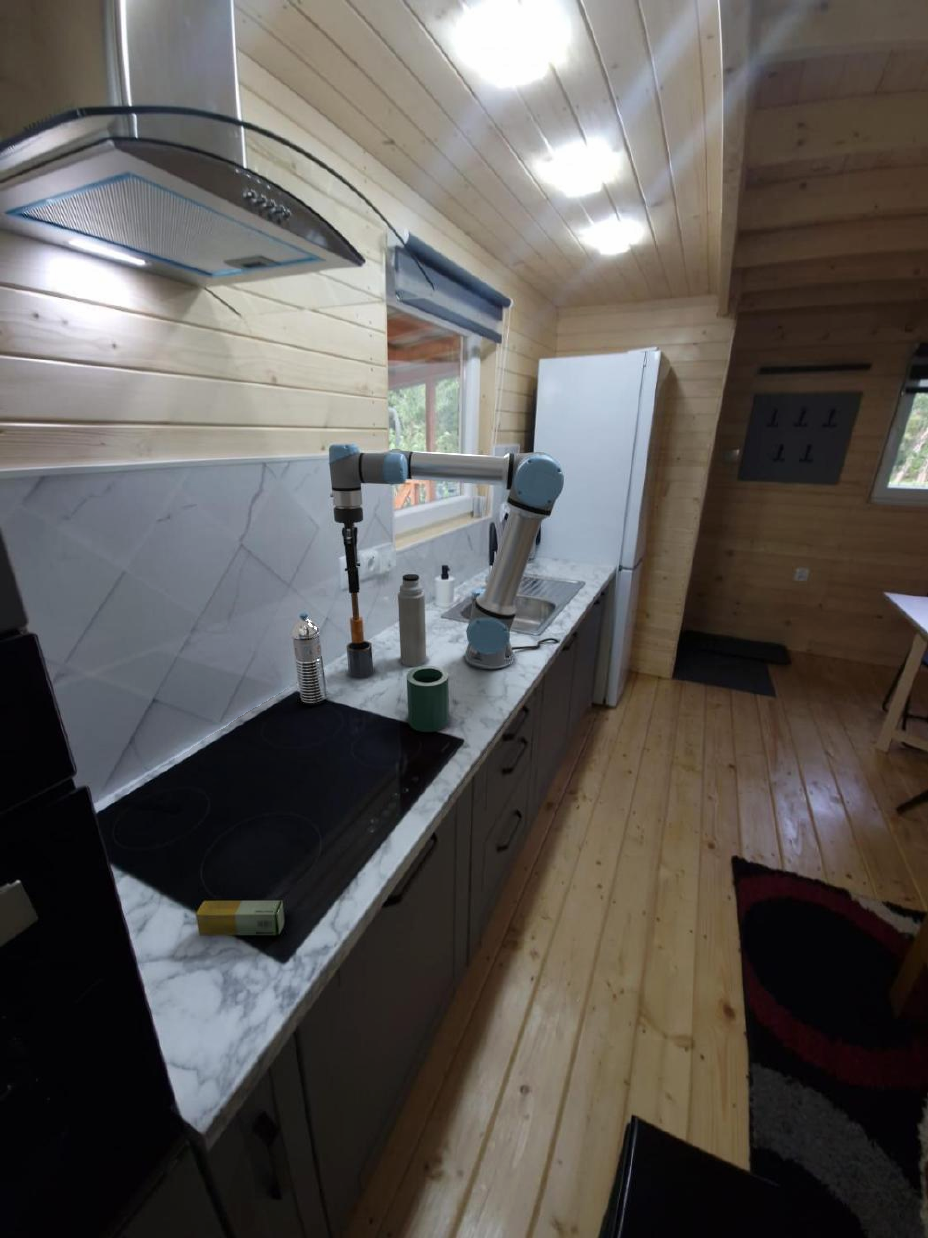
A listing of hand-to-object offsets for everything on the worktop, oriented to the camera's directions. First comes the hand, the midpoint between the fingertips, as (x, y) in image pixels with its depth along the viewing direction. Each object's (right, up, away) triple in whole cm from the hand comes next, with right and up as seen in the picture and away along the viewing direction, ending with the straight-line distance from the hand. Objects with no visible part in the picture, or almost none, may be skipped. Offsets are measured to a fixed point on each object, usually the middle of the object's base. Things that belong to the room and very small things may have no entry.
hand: (354, 590), depth 139 cm
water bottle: (-10, -30, -5) cm, 32 cm away
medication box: (-2, -55, -64) cm, 84 cm away
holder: (0, -24, +10) cm, 26 cm away
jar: (+22, -34, -13) cm, 42 cm away
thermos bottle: (+15, -21, +18) cm, 31 cm away
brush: (0, -14, +6) cm, 15 cm away
